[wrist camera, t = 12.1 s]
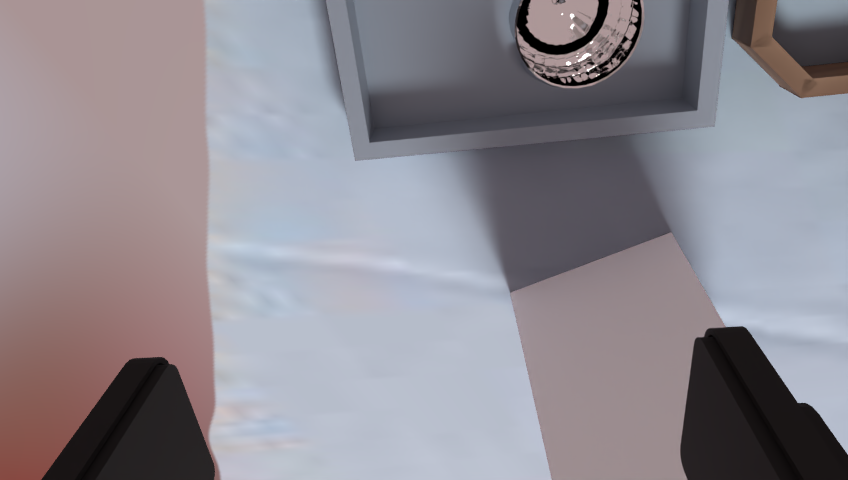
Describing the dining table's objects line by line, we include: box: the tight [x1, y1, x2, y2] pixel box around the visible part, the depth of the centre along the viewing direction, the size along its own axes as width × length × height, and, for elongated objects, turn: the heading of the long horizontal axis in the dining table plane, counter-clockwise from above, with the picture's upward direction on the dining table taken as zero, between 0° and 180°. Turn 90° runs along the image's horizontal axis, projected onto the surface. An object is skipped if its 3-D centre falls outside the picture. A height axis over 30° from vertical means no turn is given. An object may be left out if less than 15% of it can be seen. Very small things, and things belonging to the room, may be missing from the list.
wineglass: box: [493, 0, 645, 89], centre depth 27 cm, size 6×6×12 cm
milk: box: [510, 232, 725, 480], centre depth 33 cm, size 12×12×26 cm
